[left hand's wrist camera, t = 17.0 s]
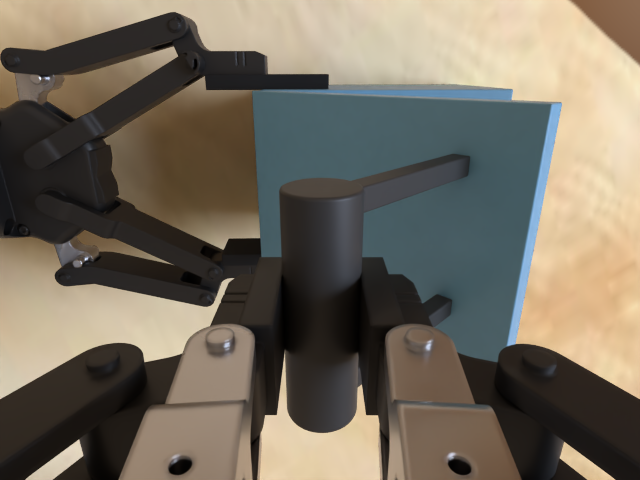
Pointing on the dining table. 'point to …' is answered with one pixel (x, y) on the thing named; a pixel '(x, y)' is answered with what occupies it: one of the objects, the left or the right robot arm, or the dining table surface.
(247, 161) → the dining table surface
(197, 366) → the left robot arm
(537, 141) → the lid
